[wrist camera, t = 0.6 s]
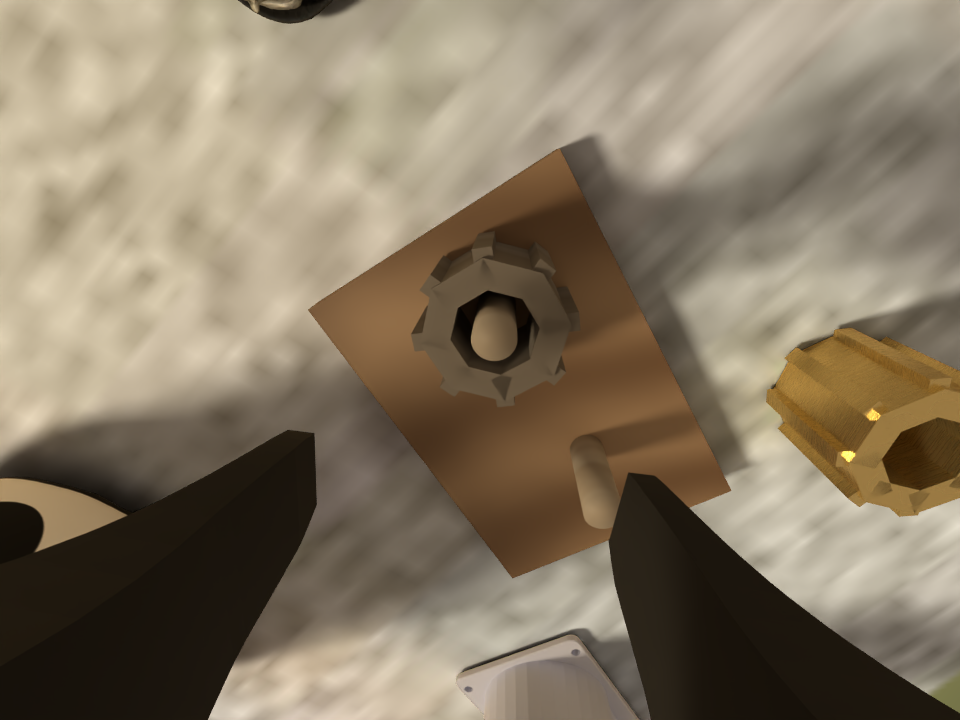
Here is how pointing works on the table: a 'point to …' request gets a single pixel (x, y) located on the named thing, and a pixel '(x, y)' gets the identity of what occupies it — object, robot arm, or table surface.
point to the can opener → (287, 9)
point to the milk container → (47, 515)
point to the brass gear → (874, 419)
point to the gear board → (522, 369)
